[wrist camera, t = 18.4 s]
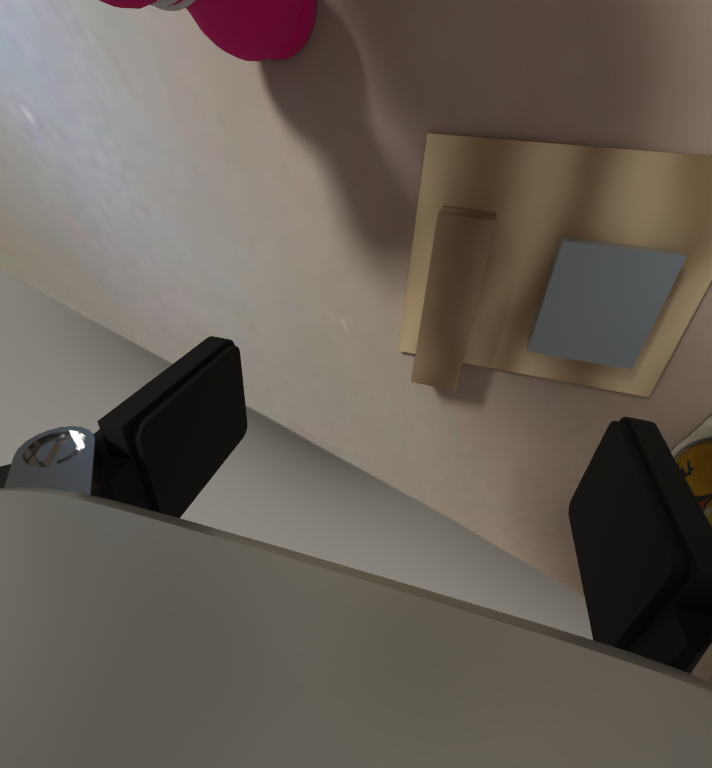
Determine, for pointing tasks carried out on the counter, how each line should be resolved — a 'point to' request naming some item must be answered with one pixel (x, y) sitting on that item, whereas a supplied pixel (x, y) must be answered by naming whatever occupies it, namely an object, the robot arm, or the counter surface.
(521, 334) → the cork mat
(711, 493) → the condiment
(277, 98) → the counter surface
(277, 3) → the pepper mill
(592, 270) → the slate tile
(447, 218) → the walnut turner
